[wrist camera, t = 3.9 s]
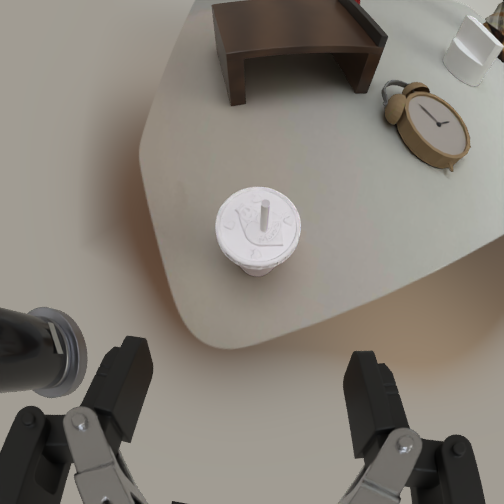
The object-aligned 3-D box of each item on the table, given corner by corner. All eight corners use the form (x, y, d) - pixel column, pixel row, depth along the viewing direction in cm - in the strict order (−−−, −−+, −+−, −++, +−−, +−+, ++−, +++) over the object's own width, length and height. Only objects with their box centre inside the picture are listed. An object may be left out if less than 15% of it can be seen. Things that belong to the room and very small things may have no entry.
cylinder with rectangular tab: (434, 54, 43) (455, 12, 32) (461, 57, 44) (482, 19, 33) (461, 86, 41) (488, 43, 29) (486, 87, 42) (512, 49, 30)
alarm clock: (453, 175, 32) (374, 84, 32) (432, 187, 37) (359, 104, 37) (480, 138, 34) (412, 61, 34) (461, 150, 39) (398, 79, 39)
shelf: (230, 106, 38) (224, 40, 27) (216, 49, 42) (210, -7, 31) (366, 93, 39) (388, 36, 28) (333, 40, 43) (343, -11, 32)
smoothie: (258, 303, 31) (261, 271, 17) (213, 260, 32) (184, 200, 19) (301, 257, 32) (332, 196, 19) (255, 217, 33) (256, 137, 20)
